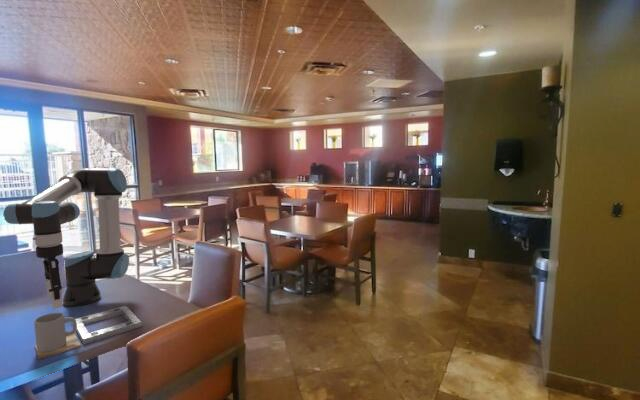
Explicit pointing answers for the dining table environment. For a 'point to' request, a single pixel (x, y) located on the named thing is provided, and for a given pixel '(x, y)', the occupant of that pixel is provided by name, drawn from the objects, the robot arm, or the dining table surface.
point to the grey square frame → (103, 333)
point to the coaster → (70, 344)
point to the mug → (52, 331)
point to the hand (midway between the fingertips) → (54, 301)
